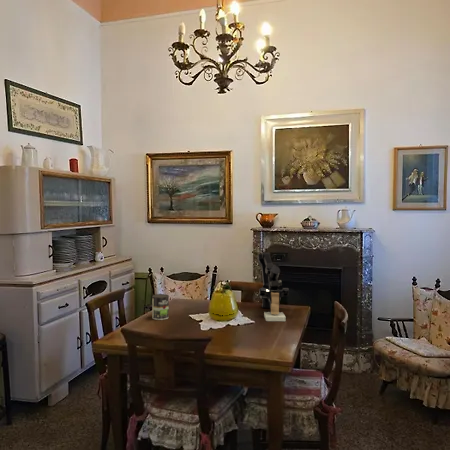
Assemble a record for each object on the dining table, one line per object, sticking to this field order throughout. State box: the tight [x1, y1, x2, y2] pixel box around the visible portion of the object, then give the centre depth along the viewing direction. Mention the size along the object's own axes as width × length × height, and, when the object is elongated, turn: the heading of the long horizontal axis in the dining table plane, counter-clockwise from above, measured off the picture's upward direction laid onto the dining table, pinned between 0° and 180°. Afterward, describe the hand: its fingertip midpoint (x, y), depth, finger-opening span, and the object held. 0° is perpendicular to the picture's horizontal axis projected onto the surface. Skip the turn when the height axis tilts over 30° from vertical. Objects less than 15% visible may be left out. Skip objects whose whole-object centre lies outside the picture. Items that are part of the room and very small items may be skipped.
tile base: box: [263, 311, 287, 322], centre depth 272 cm, size 12×12×2 cm
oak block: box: [270, 292, 280, 314], centre depth 271 cm, size 4×4×13 cm
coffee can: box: [151, 293, 170, 321], centre depth 270 cm, size 10×10×14 cm
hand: (275, 303), depth 270 cm, fingers closed on oak block, 4 cm apart
